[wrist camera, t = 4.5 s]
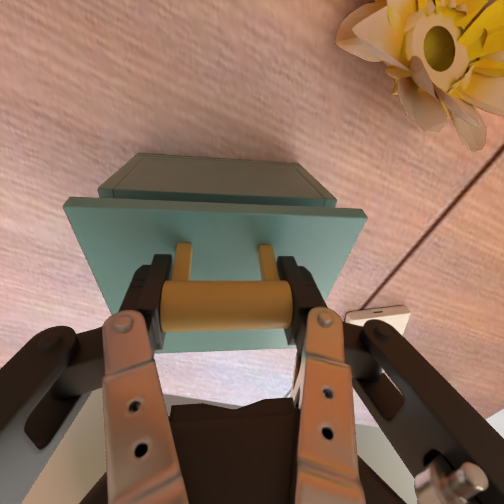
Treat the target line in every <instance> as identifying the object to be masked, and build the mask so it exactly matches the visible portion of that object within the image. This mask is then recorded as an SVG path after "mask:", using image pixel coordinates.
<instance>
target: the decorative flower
mask: <svg viewBox="0 0 504 504" xmlns="http://www.w3.org/2000/svg"><path fill="white" fill-rule="evenodd" d="M374 1H375V2H373V3H366V4H364V5H362V6H361V7H359V8H358V9H356V10H355V11H353V12H351V13H350V14H349V15H348V16H347V17H346V18H345V19H344V21H343V22H342V23H341V24H340V27H339V30H338V32H337V35H336V38H335V44H336V45H337V46H339V47H340V48H342V49H344V50H346V51H347V52H349V53H351V54H353V55H355V56H358V57H360V58H362V59H364V60H366V61H371V62H378V61H382V62H383V63H384V64H385V65H387V66H388V67H390V68H388V69H387V70H386V71H385V73H387V74H388V75H389V76H390V77H393V78H394V80H395V82H396V85H395V87H394V89H393V91H392V94H391V95H399V99H400V102H401V104H402V106H403V108H404V110H405V114H406V115H408V116H409V117H410V118H411V119H412V120H413V121H414V122H415V123H416V124H417V125H418V126H420V127H421V128H422V129H423V130H424V131H436V132H440V131H441V129H442V128H443V127H444V125H445V124H446V123H447V121H448V120H447V118H450V117H451V119H452V121H453V123H454V126H455V128H456V130H457V133H458V135H459V138H460V140H461V143H462V145H464V146H465V147H466V148H467V149H469V150H470V151H471V152H476V151H479V150H482V149H483V147H484V145H485V142H486V125H485V123H484V121H483V120H482V118H481V116H480V115H479V113H478V112H477V111H476V109H475V108H474V107H473V106H472V105H474V106H476V107H478V108H480V109H481V110H483V111H485V112H489V113H492V114H496V115H499V116H503V117H504V0H374ZM471 104H472V105H471Z"/></svg>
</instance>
